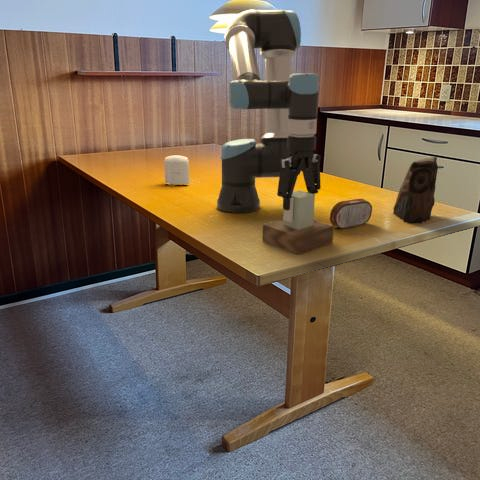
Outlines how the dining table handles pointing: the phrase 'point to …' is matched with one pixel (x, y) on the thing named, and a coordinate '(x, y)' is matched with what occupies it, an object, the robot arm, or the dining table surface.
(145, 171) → the dining table surface
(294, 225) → the sage block
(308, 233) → the walnut board
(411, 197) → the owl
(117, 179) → the dining table surface
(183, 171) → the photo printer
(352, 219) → the tin
